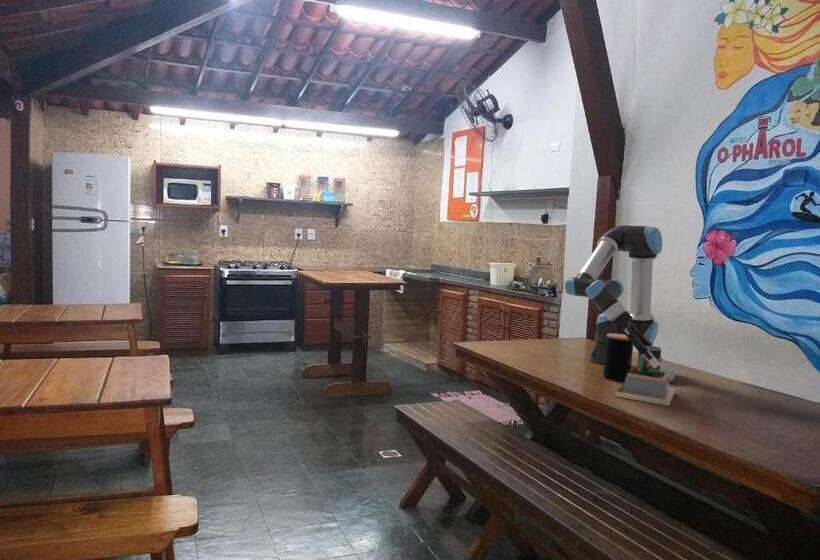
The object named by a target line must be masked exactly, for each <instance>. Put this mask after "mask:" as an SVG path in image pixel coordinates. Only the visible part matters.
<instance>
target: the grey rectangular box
mask: <svg viewBox="0 0 820 560" xmlns="http://www.w3.org/2000/svg"><path fill="white" fill-rule="evenodd" d="M669 381H670V377H669V373H668V372H661V371H659V377H653V376H646V375H640V374H637V368H636V367H632V368H631V369H630V371H629V372H628V373H627V376H626V377H625V381H623V383H622V384H621V386H620V387H619V388H618V389H617V390H616V394H615V397H616V396H618V397H617V398H620V397H622V398H621V399H626V398H627V399H628V400H631V399H632V400H633V401H636V400H638V401H639V402H642V401H644V402H643V403H647V402H649V403H648V404H653V403H654V404H655V405H658V404H660V406H663V407H670V405H671V403H672V400H673V398H674V396H675V394H676V388H675V387H671V386H670V382H671V381H670V382H669ZM627 399H626V400H627ZM638 401H637V402H638ZM654 404H653V405H654Z"/></svg>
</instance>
